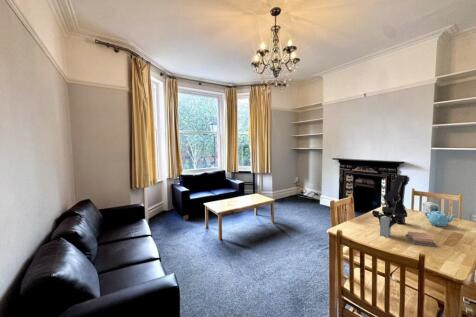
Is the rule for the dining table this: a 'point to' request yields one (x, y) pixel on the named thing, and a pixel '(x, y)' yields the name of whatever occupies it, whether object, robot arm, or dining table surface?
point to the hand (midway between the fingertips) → (384, 226)
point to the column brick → (385, 226)
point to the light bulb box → (430, 207)
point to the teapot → (438, 218)
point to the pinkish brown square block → (420, 239)
